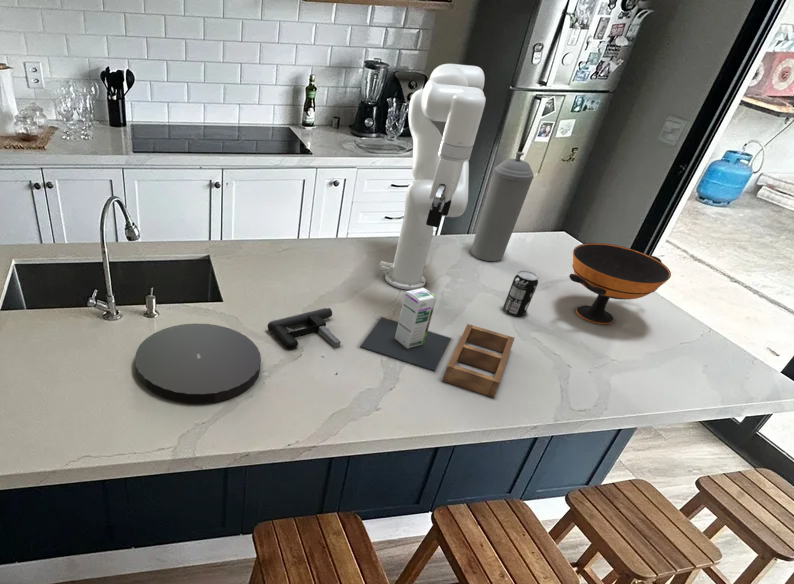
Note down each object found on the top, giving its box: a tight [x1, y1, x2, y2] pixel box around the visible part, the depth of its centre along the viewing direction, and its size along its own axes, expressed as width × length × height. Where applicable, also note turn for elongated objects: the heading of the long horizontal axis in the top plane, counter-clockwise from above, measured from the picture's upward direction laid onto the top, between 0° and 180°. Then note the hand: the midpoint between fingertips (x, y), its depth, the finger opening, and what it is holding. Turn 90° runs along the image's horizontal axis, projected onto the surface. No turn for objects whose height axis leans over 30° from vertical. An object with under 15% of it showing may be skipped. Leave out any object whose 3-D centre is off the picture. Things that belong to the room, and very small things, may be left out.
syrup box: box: [395, 287, 438, 349], centre depth 149 cm, size 6×6×14 cm
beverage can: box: [503, 270, 539, 317], centre depth 168 cm, size 7×7×12 cm
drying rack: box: [442, 323, 515, 398], centre depth 146 cm, size 12×24×4 cm, turn 152°
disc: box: [134, 323, 262, 404], centre depth 138 cm, size 30×30×3 cm
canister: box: [470, 151, 535, 262], centre depth 192 cm, size 13×13×35 cm
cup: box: [569, 242, 672, 325], centre depth 168 cm, size 36×26×18 cm
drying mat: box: [359, 316, 452, 372], centre depth 154 cm, size 20×18×1 cm
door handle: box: [267, 307, 341, 350], centre depth 153 cm, size 3×20×16 cm
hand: (436, 220), depth 148 cm, fingers open, 9 cm apart
